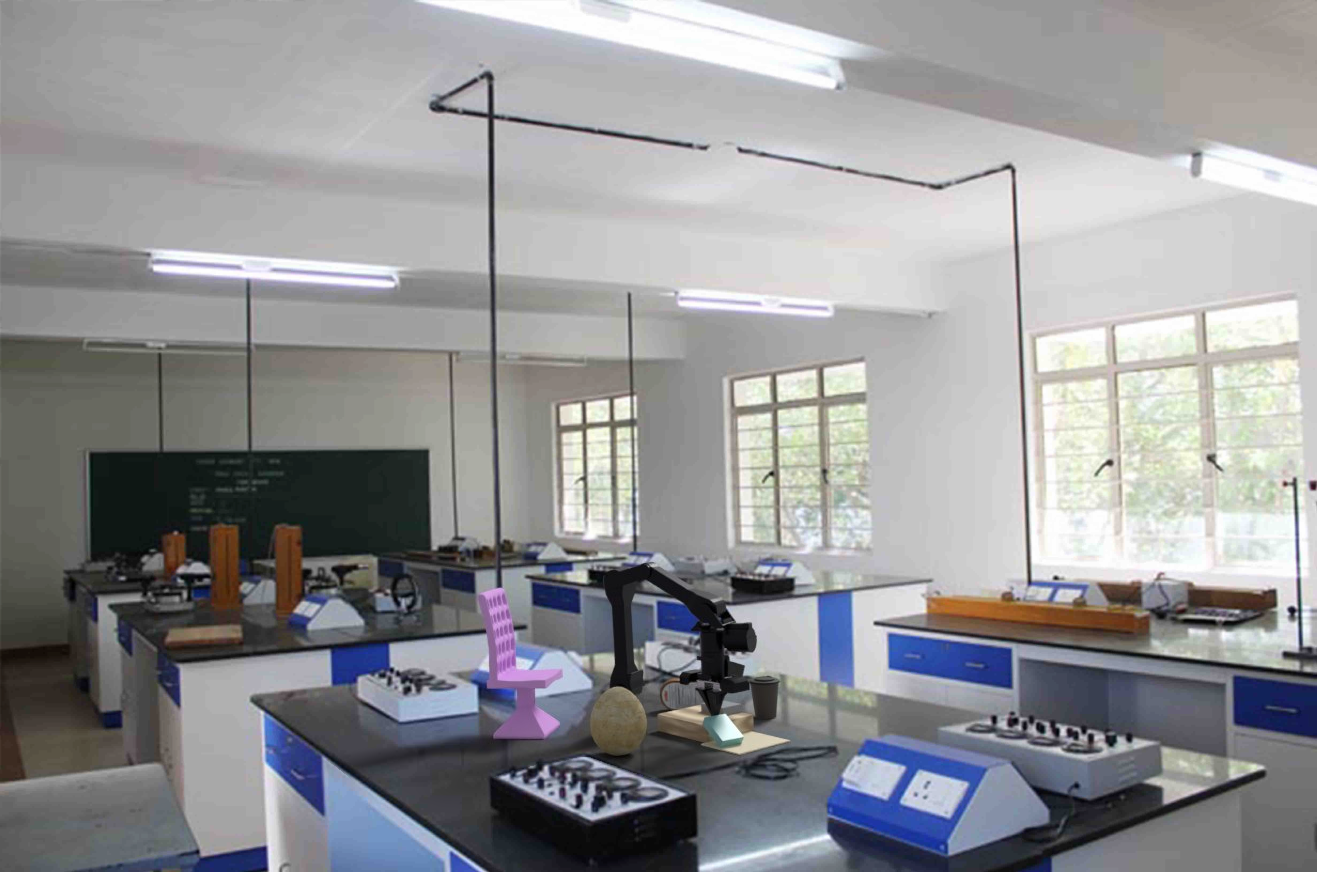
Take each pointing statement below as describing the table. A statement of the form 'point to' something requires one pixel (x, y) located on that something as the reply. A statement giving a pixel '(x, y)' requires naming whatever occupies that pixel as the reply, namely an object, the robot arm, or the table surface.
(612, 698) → the fossilized egg
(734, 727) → the teal block
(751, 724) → the wooden block
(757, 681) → the coffee cup
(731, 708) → the gray rectangular block
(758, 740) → the mat
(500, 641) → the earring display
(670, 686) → the tin
